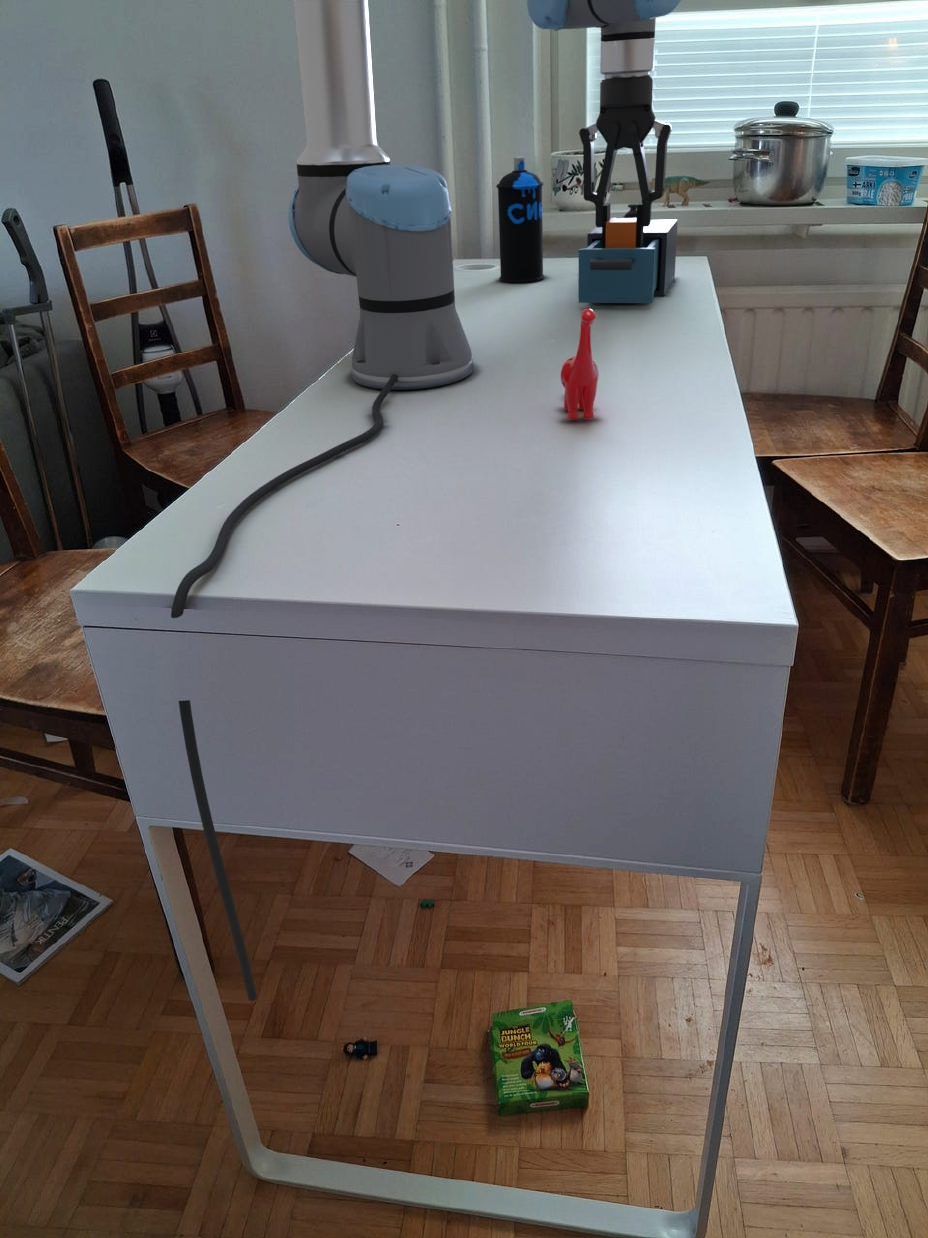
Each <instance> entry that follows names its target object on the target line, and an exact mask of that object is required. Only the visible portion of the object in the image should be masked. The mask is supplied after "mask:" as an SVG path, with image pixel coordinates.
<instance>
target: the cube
mask: <svg viewBox="0 0 928 1238" xmlns="http://www.w3.org/2000/svg"><path fill="white" fill-rule="evenodd" d="M610 218H611V219H610V220H609V221H607V222H606V248H636V224H637V221H636V218H622V217H610Z"/></svg>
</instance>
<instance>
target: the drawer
mask: <svg viewBox="0 0 928 1238" xmlns="http://www.w3.org/2000/svg"><path fill="white" fill-rule="evenodd" d="M660 253H661V238H643V248H602V238H599V239H597V240H596V241H595V242H593V243H592V244H591V245H590V246H589V247H588V248H587V247H585V248H584V247H583V248H579V249H578V282H577V283H578V292H577V294H578V295H577V296H578V297H577V299H578V300H577V302H578V304H653V302H654V297H655V296H654V291H655V289H656V288H657V286H658V285H659V274H660Z"/></svg>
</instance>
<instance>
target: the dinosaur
mask: <svg viewBox="0 0 928 1238" xmlns="http://www.w3.org/2000/svg"><path fill="white" fill-rule="evenodd" d="M596 319H597V315H596V313H595V311H594V310H593V309H592V308H585V309H583V310H582V312H581V316H580V329H579V340H578V347H577V351H576V355H574V356H572V357H570V358H568V359H567V360H565V361H564V362H563V364H562V366H561V370H560V381H561V382H560V383H561V385H562V387H563V388H564V398H563V410H564V411H567V412H568V413H567V418H566V419H567V420H569V421H575V420H578V419H579V418H580V416H579V414H578V409H579V410H580V411H583V415H582V418H583V419H584V420H591V419H594V418H595V414H594V405H595V404H594V403H595V400H596V395H597V390H598V381H599V369H598V366H597V364H596V362H595V361H594V360H593V354H592V353H593V352H592V342H591V340H592V338H591V327H592V325H593V323H594V321H595V320H596Z"/></svg>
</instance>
